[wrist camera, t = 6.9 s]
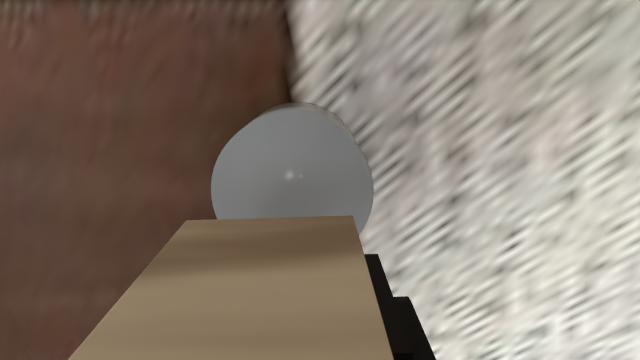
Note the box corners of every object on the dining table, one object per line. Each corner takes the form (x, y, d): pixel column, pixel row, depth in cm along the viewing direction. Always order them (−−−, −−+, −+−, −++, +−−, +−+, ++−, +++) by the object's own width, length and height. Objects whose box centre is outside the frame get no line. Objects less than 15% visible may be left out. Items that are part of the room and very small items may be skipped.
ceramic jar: (231, 103, 25) (201, 115, 18) (358, 100, 25) (375, 111, 18) (243, 220, 27) (220, 269, 21) (357, 217, 27) (371, 264, 21)
